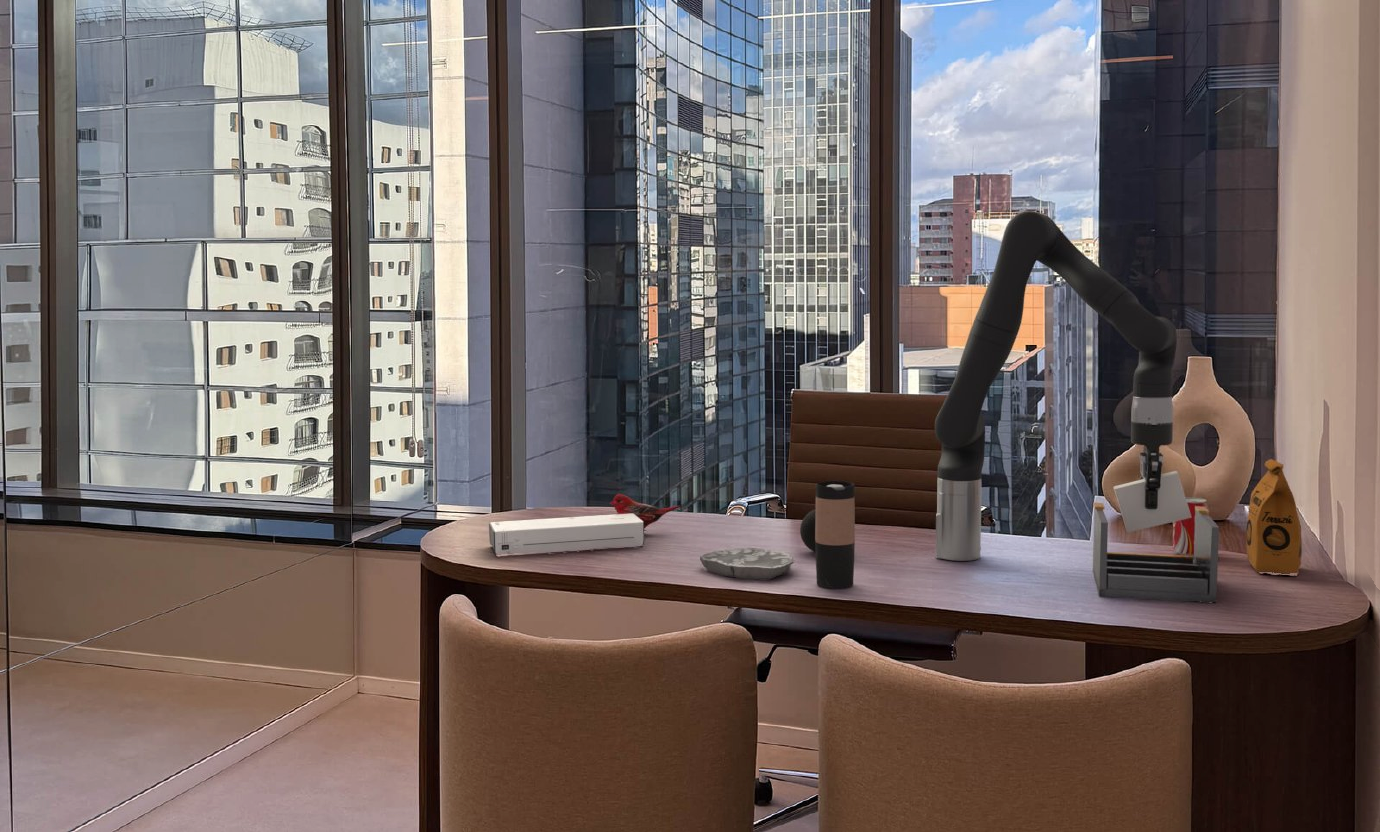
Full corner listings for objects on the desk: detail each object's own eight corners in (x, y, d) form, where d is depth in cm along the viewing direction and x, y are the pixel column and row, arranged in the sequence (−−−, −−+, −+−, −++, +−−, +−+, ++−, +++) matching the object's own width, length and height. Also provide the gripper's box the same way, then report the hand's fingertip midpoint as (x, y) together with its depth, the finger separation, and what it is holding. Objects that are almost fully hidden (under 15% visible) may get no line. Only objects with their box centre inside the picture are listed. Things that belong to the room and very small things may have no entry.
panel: (1127, 532, 220) (1114, 489, 220) (1126, 529, 223) (1113, 486, 223) (1191, 517, 216) (1178, 473, 216) (1189, 514, 219) (1176, 470, 219)
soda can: (1187, 559, 238) (1189, 503, 236) (1165, 552, 244) (1166, 497, 243) (1215, 556, 239) (1217, 501, 238) (1192, 549, 246) (1194, 495, 245)
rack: (1097, 596, 209) (1099, 519, 207) (1091, 571, 228) (1092, 501, 226) (1218, 603, 203) (1221, 524, 201) (1201, 577, 222) (1203, 505, 221)
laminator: (634, 538, 267) (633, 512, 266) (645, 549, 255) (645, 522, 254) (489, 548, 258) (489, 521, 257) (495, 560, 246) (494, 532, 245)
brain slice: (810, 567, 235) (810, 553, 235) (774, 585, 221) (774, 570, 220) (728, 558, 245) (728, 544, 245) (688, 574, 230) (688, 560, 230)
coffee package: (1246, 574, 224) (1251, 465, 221) (1243, 561, 235) (1247, 457, 233) (1303, 579, 220) (1308, 468, 217) (1297, 565, 231) (1302, 459, 229)
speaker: (793, 555, 245) (793, 510, 244) (810, 546, 254) (810, 502, 253) (836, 559, 241) (836, 513, 240) (852, 550, 250) (852, 506, 248)
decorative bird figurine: (608, 534, 270) (608, 493, 269) (679, 529, 275) (679, 489, 274) (611, 536, 267) (610, 495, 266) (682, 531, 272) (682, 491, 271)
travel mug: (828, 577, 225) (828, 479, 223) (861, 583, 220) (862, 483, 218) (807, 585, 219) (807, 484, 217) (841, 591, 214) (841, 488, 212)
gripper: (1128, 416, 226) (1126, 500, 227) (1134, 423, 212) (1133, 513, 214) (1168, 416, 224) (1166, 501, 225) (1177, 423, 210) (1175, 514, 212)
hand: (1150, 506), depth 220 cm, fingers closed on panel, 3 cm apart
